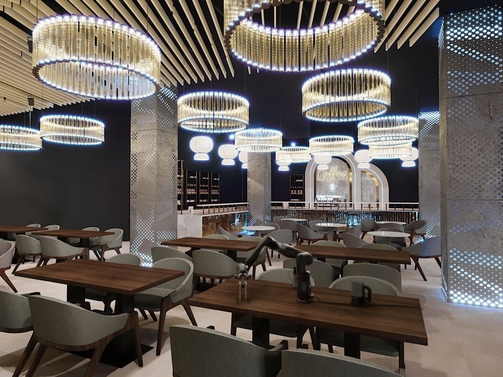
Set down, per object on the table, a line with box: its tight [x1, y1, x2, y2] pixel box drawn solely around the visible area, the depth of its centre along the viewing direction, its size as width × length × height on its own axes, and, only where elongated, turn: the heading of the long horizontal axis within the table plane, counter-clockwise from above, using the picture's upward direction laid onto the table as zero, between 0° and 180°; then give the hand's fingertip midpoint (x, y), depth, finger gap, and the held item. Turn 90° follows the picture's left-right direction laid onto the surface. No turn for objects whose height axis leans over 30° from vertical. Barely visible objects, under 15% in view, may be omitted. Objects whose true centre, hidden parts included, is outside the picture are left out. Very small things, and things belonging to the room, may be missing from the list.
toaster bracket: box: [238, 281, 248, 301], centre depth 231 cm, size 10×8×13 cm
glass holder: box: [288, 266, 297, 288], centre depth 269 cm, size 9×14×15 cm, turn 124°
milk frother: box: [350, 280, 373, 307], centre depth 228 cm, size 14×16×15 cm
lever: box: [240, 277, 246, 289], centre depth 235 cm, size 12×5×2 cm, turn 1°
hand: (243, 278), depth 238 cm, fingers closed on lever, 5 cm apart
